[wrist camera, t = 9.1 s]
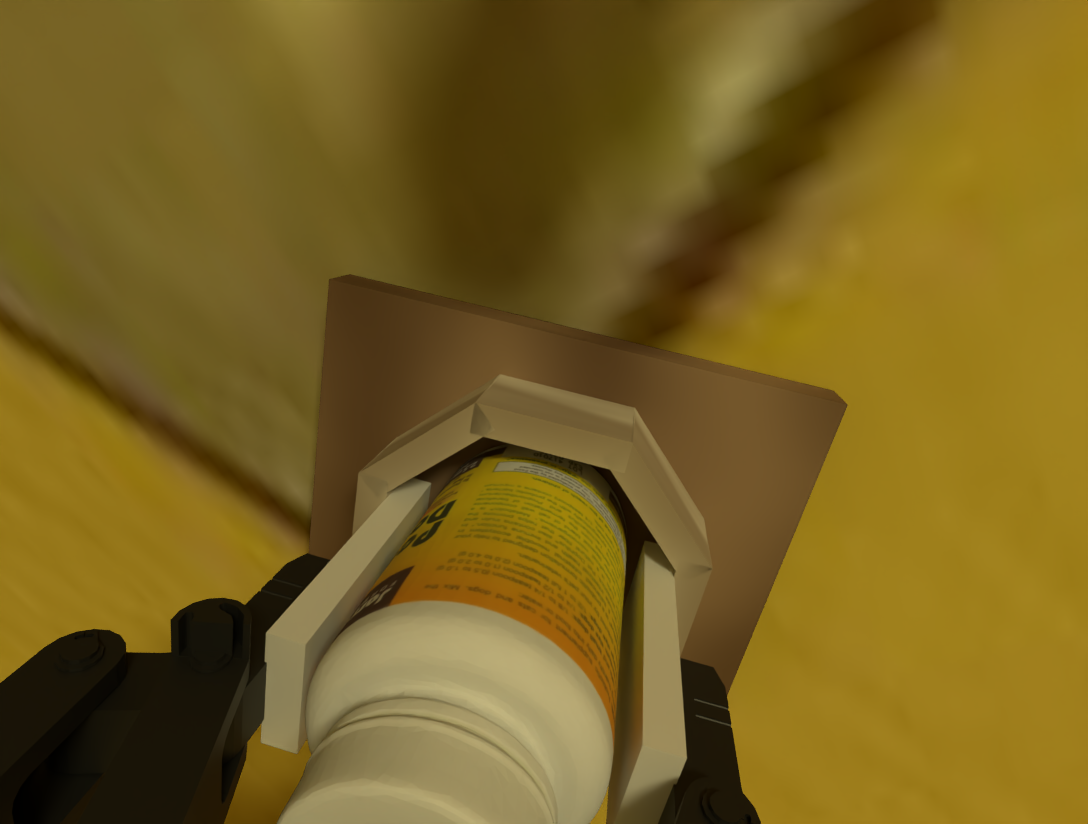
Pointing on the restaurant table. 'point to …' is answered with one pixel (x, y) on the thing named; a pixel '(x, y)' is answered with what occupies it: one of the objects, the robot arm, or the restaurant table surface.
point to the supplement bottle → (478, 659)
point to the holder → (574, 439)
